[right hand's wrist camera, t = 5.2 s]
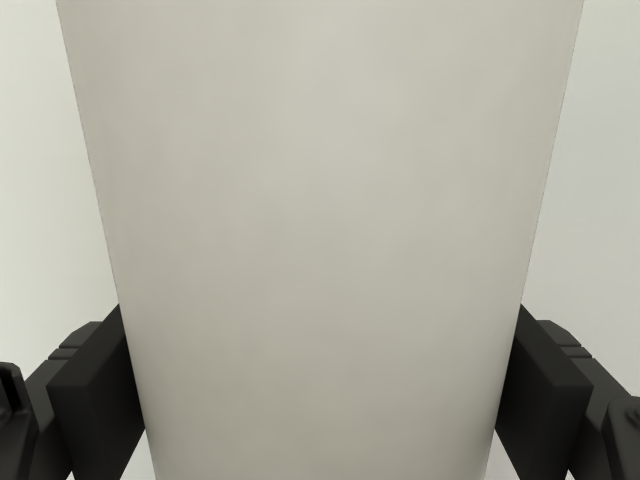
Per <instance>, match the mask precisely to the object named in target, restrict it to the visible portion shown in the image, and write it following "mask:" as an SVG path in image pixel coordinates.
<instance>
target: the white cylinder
mask: <svg viewBox="0 0 640 480" xmlns="http://www.w3.org/2000/svg"><path fill="white" fill-rule="evenodd" d="M583 3H584V0H56V5H57V10H58V14H59V19H60V24H61V29H62V34H63V38H64V43H65V48H66V53H67V57H68V62H69V67H70V72H71V76H72V81H73V86H74V91H75V95H76V100H77V105H78V110H79V115H80V119H81V124H82V129H83V134H84V138H85V143H86V148H87V153H88V157H89V162H90V167H91V172H92V176H93V181H94V186H95V191H96V195H97V200H98V205H99V210H100V215H101V219H102V224H103V229H104V234H105V238H106V243H107V248H108V253H109V257H110V262H111V267H112V272H113V276H114V281H115V286H116V291H117V296H118V300H119V305H120V310H121V315H122V319H123V324H124V329H125V334H126V338H127V343H128V348H129V353H130V357H131V362H132V367H133V372H134V376H135V381H136V386H137V391H138V396H139V400H140V405H141V410H142V415H143V419H144V424H145V429H146V434H147V438H148V443H149V448H150V453H151V457H152V462H153V467H154V472H155V477H156V480H484V476H485V471H486V466H487V461H488V457H489V452H490V447H491V442H492V437H493V433H494V428H495V423H496V418H497V414H498V409H499V404H500V399H501V394H502V390H503V385H504V380H505V375H506V371H507V366H508V361H509V356H510V352H511V347H512V342H513V337H514V332H515V328H516V323H517V318H518V313H519V309H520V304H521V299H522V294H523V289H524V285H525V280H526V275H527V270H528V266H529V261H530V256H531V251H532V246H533V242H534V237H535V232H536V227H537V223H538V218H539V213H540V208H541V204H542V199H543V194H544V189H545V184H546V180H547V175H548V170H549V165H550V161H551V156H552V151H553V146H554V141H555V137H556V132H557V127H558V122H559V118H560V113H561V108H562V103H563V99H564V94H565V89H566V84H567V79H568V75H569V70H570V65H571V60H572V56H573V51H574V46H575V41H576V36H577V32H578V27H579V22H580V17H581V13H582V8H583Z"/></svg>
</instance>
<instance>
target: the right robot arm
mask: <svg viewBox="0 0 640 480" xmlns="http://www.w3.org/2000/svg"><path fill="white" fill-rule="evenodd" d="M144 430H145V424H144V419H143V415H142V410H141V405H140V400H139V396H138V391H137V386H136V381H135V376H134V372H133V367H132V362H131V357H130V353H129V348H128V343H127V338H126V334H125V329H124V324H123V319H122V315H121V310H120V305H119V304H118V305H117V306H116V307H115V308H114V309H113V310H112V312H111V313H110V314H109V315H108V316H107V317H106V318H105V319H104V321H103V322H89V323H87V324H86V325H84V326H82V327H81V328H79V329H77V330H76V331H74V332H72V333H71V334H70V335H69V336H68V337H67V338H66V339H65V340H64V341H63V342H62V343H61V344H60V345H59V349H56V350H55V351H54V352H53V353H52V354H51V355H50V356H49V357H48V360H45V361H44V362H43V363H42V364H41V365H40V366H39V367H38V368H37V369H36V370H35V371H34V372H33V373H32V374H31V375H30V376H29V377H28V378H27V379H26V380H25V381H24V380H23V377H22V374H21V371H20V368H19V367H18V366H16V365H15V364H13V363H7V362H0V480H66V479H67V477H68V476H69V474H70V473H71V471H72V473H73V476H74V479H75V480H120V478H121V476H122V474H123V472H124V470H125V468H126V466H127V464H128V462H129V460H130V458H131V456H132V454H133V452H134V450H135V448H136V446H137V444H138V442H139V440H140V438H141V436H142V434H143V432H144ZM495 430H496V432H497V434H498V436H499V438H500V440H501V442H502V444H503V446H504V448H505V450H506V452H507V454H508V456H509V458H510V460H511V462H512V464H513V466H514V468H515V470H516V473H517V475H518V477H519V479H520V480H565V478H566V475H567V471H568V469H569V471H570V472H571V474H572V476H573V477H574V479H575V480H640V397H636V396H631V395H630V394H629V393H628V392H627V391H626V390H625V389H624V388H623V387H622V386H621V385H620V384H619V383H618V382H617V381H616V380H615V379H614V378H613V377H612V376H611V375H610V374H609V373H608V372H607V371H606V369H605V368H604V367H603V366H602V365H601V364H600V363H599V362H598V361H597V360H596V359H595V358H592V355H591V354H590V353H589V352H588V351H587V350H586V349H585V348H584V347H581V344H580V343H579V342H578V341H577V340H576V339H575V338H574V337H573V336H572V335H571V334H570V333H569V332H568V331H567V330H565V329H563V328H562V327H560V326H558V325H557V324H555V323H553V322H552V321H550V320H535V319H534V317H533V316H532V315H531V314H530V313H529V312H528V311H527V310H526V308H525V307H524V306H523V305H522V304H520V309H519V313H518V318H517V323H516V328H515V332H514V337H513V342H512V347H511V352H510V356H509V361H508V366H507V371H506V375H505V380H504V385H503V390H502V394H501V399H500V404H499V409H498V414H497V418H496V423H495Z"/></svg>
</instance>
